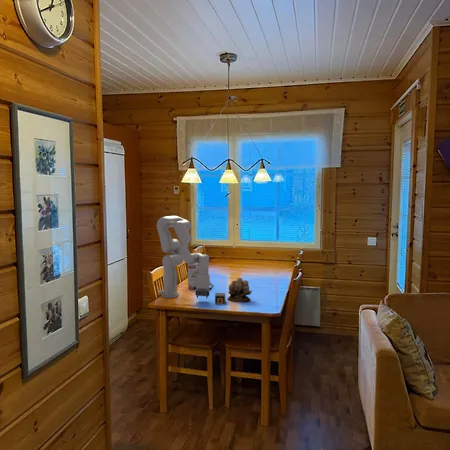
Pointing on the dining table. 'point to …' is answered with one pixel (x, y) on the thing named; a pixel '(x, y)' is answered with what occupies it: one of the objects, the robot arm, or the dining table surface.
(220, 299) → the letter cube
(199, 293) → the left cover
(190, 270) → the cracker box
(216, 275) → the dining table surface
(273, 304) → the dining table surface
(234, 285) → the brown stone statue
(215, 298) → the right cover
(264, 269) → the dining table surface
